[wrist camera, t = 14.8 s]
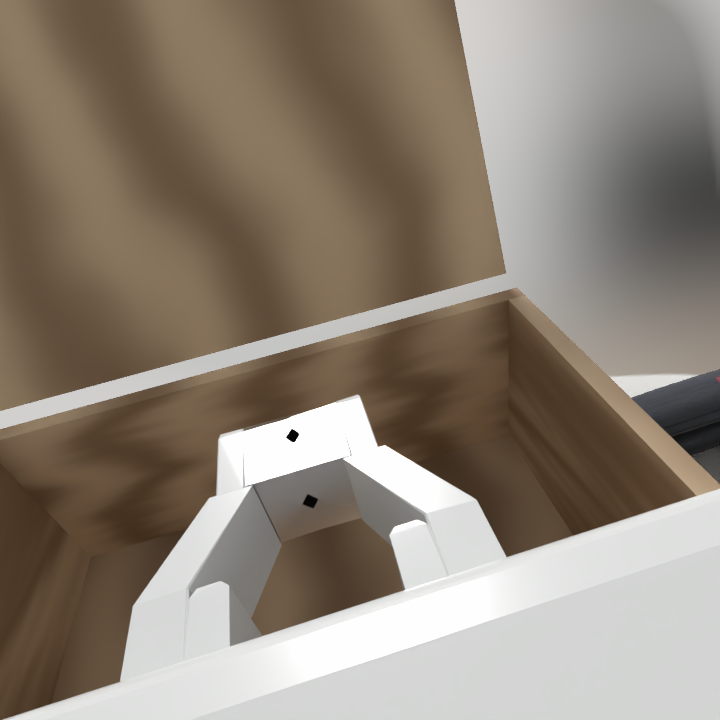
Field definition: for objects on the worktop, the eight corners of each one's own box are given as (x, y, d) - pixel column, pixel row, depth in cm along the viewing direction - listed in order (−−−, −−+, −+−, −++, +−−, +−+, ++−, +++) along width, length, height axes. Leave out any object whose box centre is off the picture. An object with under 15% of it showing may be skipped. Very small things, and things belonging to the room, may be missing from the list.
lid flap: (-205, 28, 18) (-189, 35, 19) (-28, 418, 22) (-19, 414, 22) (432, -114, 20) (428, -104, 20) (506, 272, 23) (501, 273, 24)
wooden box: (-69, 1119, 14) (-522, 1222, 8) (87, 556, 28) (-28, 437, 22) (777, 823, 15) (957, 713, 9) (514, 431, 29) (516, 287, 23)
